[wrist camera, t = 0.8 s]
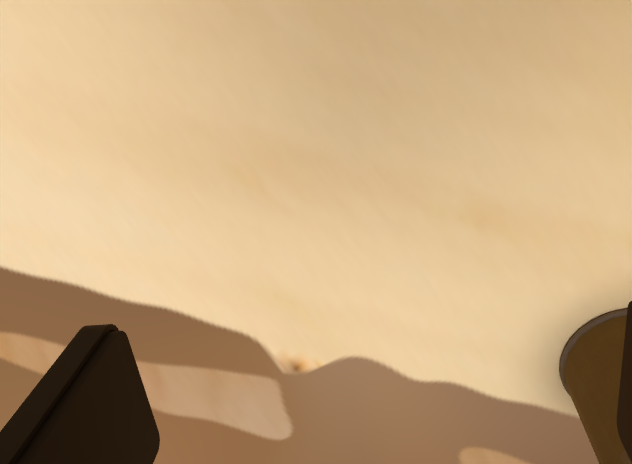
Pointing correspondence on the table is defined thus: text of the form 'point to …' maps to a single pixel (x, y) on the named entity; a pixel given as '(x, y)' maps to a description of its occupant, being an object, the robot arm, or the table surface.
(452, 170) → the table surface
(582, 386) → the canister
